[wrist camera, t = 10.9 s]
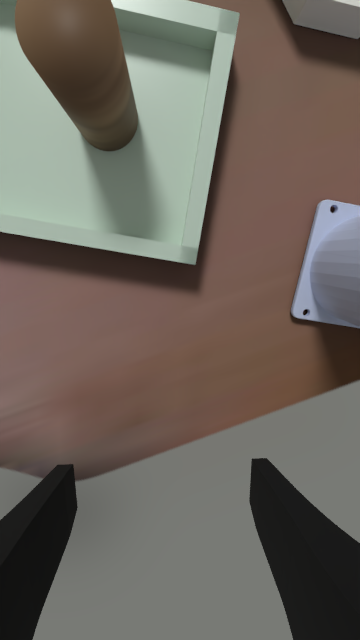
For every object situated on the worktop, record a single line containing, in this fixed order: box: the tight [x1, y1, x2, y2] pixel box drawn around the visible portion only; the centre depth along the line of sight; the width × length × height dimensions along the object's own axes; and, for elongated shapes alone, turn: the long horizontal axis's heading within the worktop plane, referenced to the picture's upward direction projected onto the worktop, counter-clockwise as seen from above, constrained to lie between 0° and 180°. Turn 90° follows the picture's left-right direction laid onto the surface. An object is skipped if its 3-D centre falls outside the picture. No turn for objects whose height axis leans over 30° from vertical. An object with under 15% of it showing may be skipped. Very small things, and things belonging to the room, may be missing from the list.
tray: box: [0, 0, 240, 265], centre depth 17 cm, size 15×13×2 cm
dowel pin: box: [15, 0, 138, 151], centre depth 14 cm, size 4×4×7 cm
